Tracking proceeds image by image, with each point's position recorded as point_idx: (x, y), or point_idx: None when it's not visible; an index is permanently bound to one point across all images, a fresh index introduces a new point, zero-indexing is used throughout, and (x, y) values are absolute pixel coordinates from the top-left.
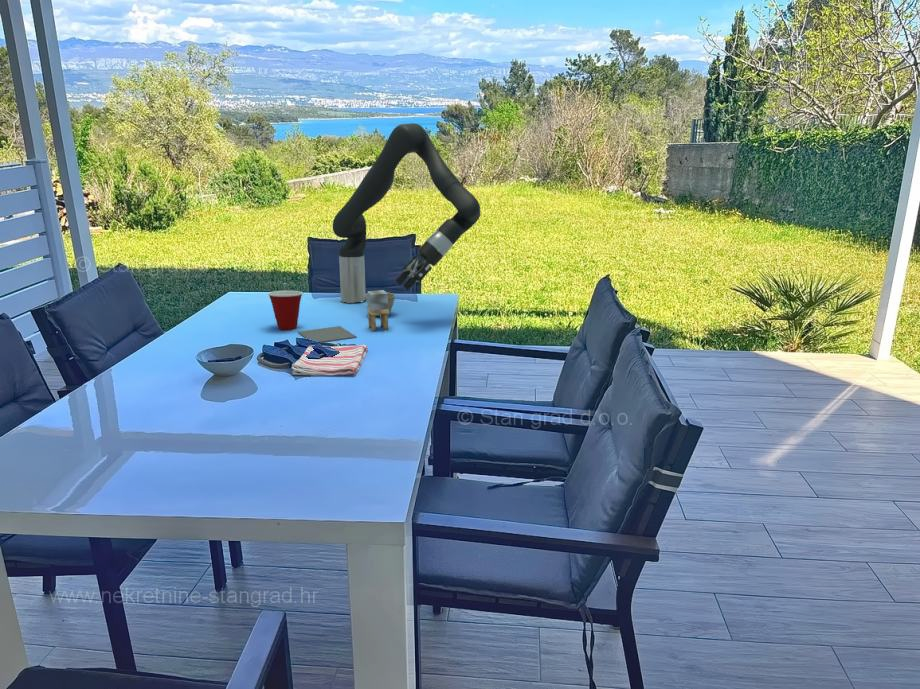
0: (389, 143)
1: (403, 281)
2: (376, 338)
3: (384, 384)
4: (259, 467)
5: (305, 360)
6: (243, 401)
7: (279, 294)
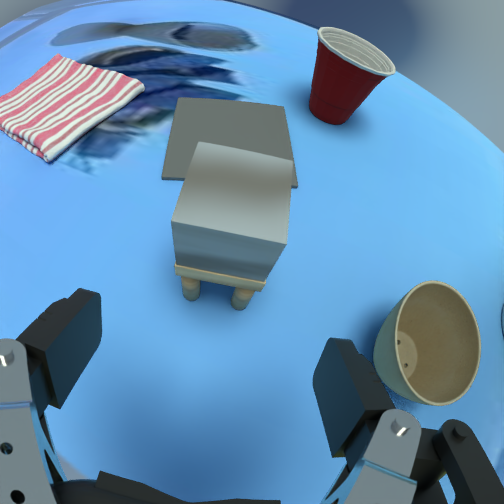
0: None
1: (321, 407)
2: (117, 221)
3: None
4: None
5: (77, 71)
6: (44, 41)
7: (382, 63)
